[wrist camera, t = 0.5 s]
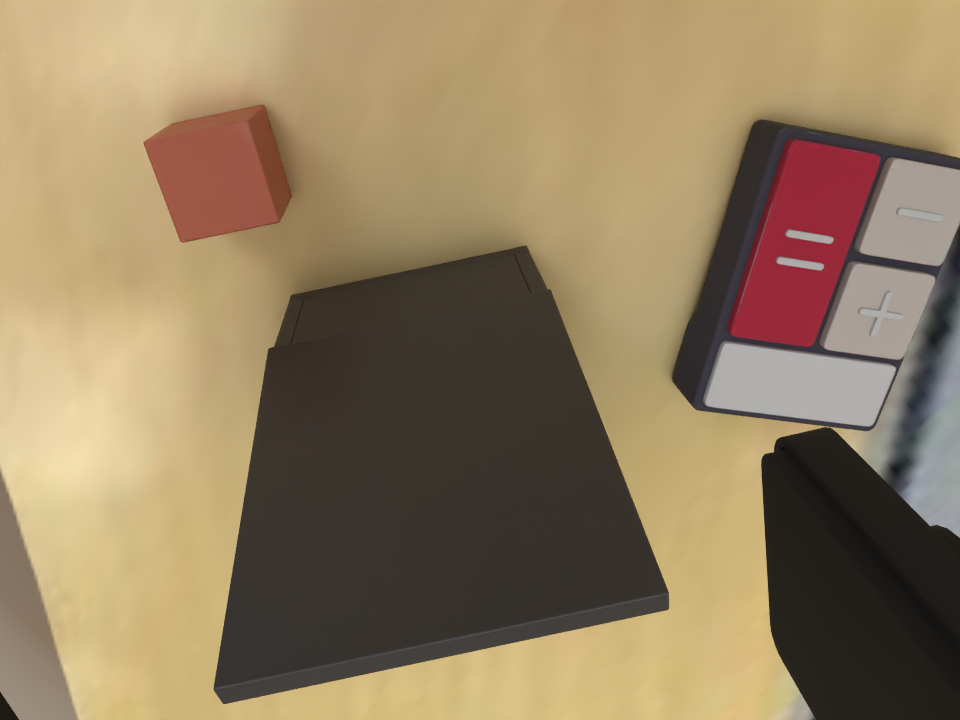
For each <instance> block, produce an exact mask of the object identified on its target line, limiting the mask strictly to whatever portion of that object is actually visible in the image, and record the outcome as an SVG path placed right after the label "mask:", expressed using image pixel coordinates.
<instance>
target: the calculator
mask: <svg viewBox="0 0 960 720" xmlns="http://www.w3.org/2000/svg"><path fill="white" fill-rule="evenodd" d="M959 223H960V158H957V157H953V156H948V155H944V154H939V153H934V152H929V151H924V150H919V149H913V148H908V147H903V146H898V145H893V144H887V143H882V142H877V141H872V140H867V139H861V138H856V137H851V136H846V135H841V134H835V133H830V132H825V131H820V130H815V129H809V128H804V127H799V126H794V125H789V124H783V123H778V122H773V121H768V120H759V121H757V122H756V123H755V124H754V125H753V127H752V130H751V133H750V137H749V140H748V143H747V147H746V150H745V153H744V157H743V160H742V163H741V167H740V170H739V173H738V176H737V180H736V183H735V186H734V190H733V193H732V196H731V200H730V203H729V206H728V210H727V213H726V216H725V220H724V223H723V226H722V230H721V233H720V236H719V240H718V243H717V246H716V249H715V253H714V256H713V259H712V263H711V266H710V269H709V273H708V276H707V279H706V283H705V286H704V289H703V293H702V296H701V299H700V303H699V306H698V309H697V312H696V314H695V315H694V316H693V318H692V319H691V321H690V322H689V324H688V326H687V330H686V333H685V336H684V339H683V343H682V346H681V349H680V353H679V356H678V360H677V363H676V366H675V370H674V373H673V377H672V380H673V382H674V384H675V385H676V386H677V388H678V389H679V390H680V391H681V393H682V394H683V395H684V396H685V398H686V399H687V400H688V401H689V403H690V404H691V405H692V406H693V407H694V408H695V409H696V410H700V411H707V412H715V413H723V414H732V415H740V416H748V417H756V418H764V419H772V420H780V421H788V422H796V423H805V424H813V425H821V426H829V427H837V428H845V429H853V430H861V431H869V430H872V429H873V428H874V427H875V425H876V423H877V421H878V419H879V416H880V414H881V411H882V409H883V406H884V404H885V402H886V399H887V397H888V394H889V392H890V390H891V387H892V385H893V382H894V380H895V378H896V375H897V373H898V370H899V368H900V366H901V363H902V361H903V358H904V356H905V353H906V351H907V349H908V346H909V344H910V341H911V339H912V337H913V334H914V332H915V329H916V327H917V325H918V322H919V320H920V317H921V315H922V313H923V310H924V308H925V305H926V303H927V300H928V298H929V296H930V293H931V291H932V288H933V286H934V284H935V281H936V279H937V276H938V274H939V272H940V269H941V267H942V264H943V262H944V260H945V257H946V255H947V252H948V250H949V247H950V245H951V243H952V240H953V238H954V235H955V233H956V231H957V228H958V226H959Z"/></svg>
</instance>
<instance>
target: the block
mask: <svg viewBox="0 0 960 720" xmlns="http://www.w3.org/2000/svg"><path fill="white" fill-rule="evenodd" d="M144 146H145V148H146V151H147V154H148V156H149V159H150V162H151V164H152V167H153V170H154V172H155V175H156V178H157V180H158V183H159V186H160V188H161V191H162V194H163V196H164V199H165V202H166V204H167V207H168V210H169V212H170V215H171V218H172V220H173V223H174V226H175V228H176V231H177V234H178V236H179V239H180V241H181V242H182V243H183V242H188V241H193V240H198V239H202V238H207V237H212V236H217V235H222V234H226V233H231V232H236V231H241V230H245V229H250V228H255V227H260V226H264V225H269V224H274V223H279V222H280V220H281V218H282V216H283V214H284V212H285V210H286V208H287V205H288V203H289V201H290V199H291V192H290V189H289V186H288V182H287V179H286V176H285V172H284V169H283V166H282V162H281V159H280V156H279V152H278V149H277V146H276V142H275V139H274V136H273V132H272V129H271V126H270V122H269V119H268V116H267V112H266V109H265V106H264V105H259V106H255V107H250V108H245V109H240V110H235V111H231V112H226V113H221V114H216V115H211V116H207V117H202V118H197V119H192V120H188V121H183V122H178V123H173V124H171V125H169V126H168V127H166V128H164V129H163V130H161V131H160V132H158V133H157V134H155V135H153V136H152V137H150V138H149V139H147V140H146V141H144Z"/></svg>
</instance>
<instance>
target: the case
mask: <svg viewBox="0 0 960 720" xmlns="http://www.w3.org/2000/svg"><path fill="white" fill-rule="evenodd" d="M543 290H548V289H547V287H546V285H545V283H544V281H543V279H542V277H541V275H540V273H539V271H538V269H537V267H536V265H535V263H534V261H533V259H532V257H531V255H530V253H529V250H528V248H527V246H524V247H519V248H515V249H510V250H505V251H500V252H496V253H491V254H486V255H481V256H477V257H472V258H467V259H462V260H458V261H453V262H448V263H443V264H439V265H434V266H429V267H424V268H420V269H415V270H410V271H405V272H401V273H396V274H391V275H386V276H381V277H377V278H372V279H367V280H362V281H358V282H353V283H348V284H343V285H339V286H334V287H329V288H324V289H320V290H315V291H310V292H305V293H301V294H296V295H291V297H290V300H289V304H288V307H287V310H286V313H285V316H284V319H283V322H282V325H281V328H280V331H279V334H278V337H277V340H276V343H275V346H274V347H277V346H282V345H287V344H291V343H296V342H301V341H306V340H310V339H315V338H320V337H325V336H329V335H334V334H339V333H344V332H348V331H353V330H358V329H363V328H367V327H372V326H377V325H382V324H386V323H391V322H396V321H401V320H405V319H410V318H415V317H420V316H424V315H429V314H434V313H439V312H443V311H448V310H453V309H458V308H462V307H467V306H472V305H477V304H481V303H486V302H491V301H496V300H500V299H505V298H510V297H515V296H519V295H524V294H529V293H534V292H538V291H543Z"/></svg>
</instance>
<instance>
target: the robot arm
mask: <svg viewBox="0 0 960 720" xmlns="http://www.w3.org/2000/svg"><path fill="white" fill-rule="evenodd" d="M761 468H762V486H763V504H764V522H765V540H766V558H767V576H768V593H769V611H770V626H771V632H772V636H773V640H774V643H775V646H776V648H777V651H778V653H779V655H780V657H781V659H782V661H783V663H784V665H785V666H786V668H787V670H788V671H789V673H790V675H791V677H792V678H793V680H794V682H795V684H796V685H797V687H798V689H799V691H800V692H801V694H802V696H803V698H804V699H805V701H806V703H807V704H808V706H809V708H810V710H811V711H812V713H813V715H814V717H815V718H816V720H960V538H959V537H958V536H956V535H955V534H954V533H953V532H951V531H950V530H949V529H947V528H944V527H941V526H938V525H934V526H929V525H928V524H927V523H926V522H925V521H924V520H923V519H922V518H921V517H920V516H919V515H918V514H917V513H916V512H915V511H914V510H913V509H912V508H911V507H910V506H909V505H908V504H907V503H906V502H905V501H904V500H903V499H902V498H901V497H900V496H899V495H898V494H897V493H896V492H895V491H894V490H893V489H892V488H891V487H890V486H889V485H888V484H887V483H886V482H885V481H884V480H883V479H882V478H881V477H880V476H879V475H878V474H877V473H876V472H875V471H874V470H873V469H872V468H871V467H870V466H869V465H868V464H867V463H866V462H865V461H864V460H863V459H862V458H861V457H860V456H859V455H858V454H857V453H856V452H855V451H854V450H853V449H852V448H851V447H850V446H849V445H848V444H847V442H846V441H845V440H844V439H843V438H842V437H841V436H840V435H839V434H838V433H837V432H835V431H834V430H832V429H831V428H827V427H824V428H820V429H816V430H811V431H807V432H802V433H798V434H794V435H789V436H785V437H781V438H779V439H777V440H776V443H775V447H774V452H773V453H768V454H765V455H764V456H763V457H762V463H761ZM0 720H19V719H18V717H17V716H16V714H15V713H14V712H13V710H12V709H11V707H10V706H9V704H8V703H7V701H6V700H5V698H4V697H3V695H2V694H1V692H0Z"/></svg>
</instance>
